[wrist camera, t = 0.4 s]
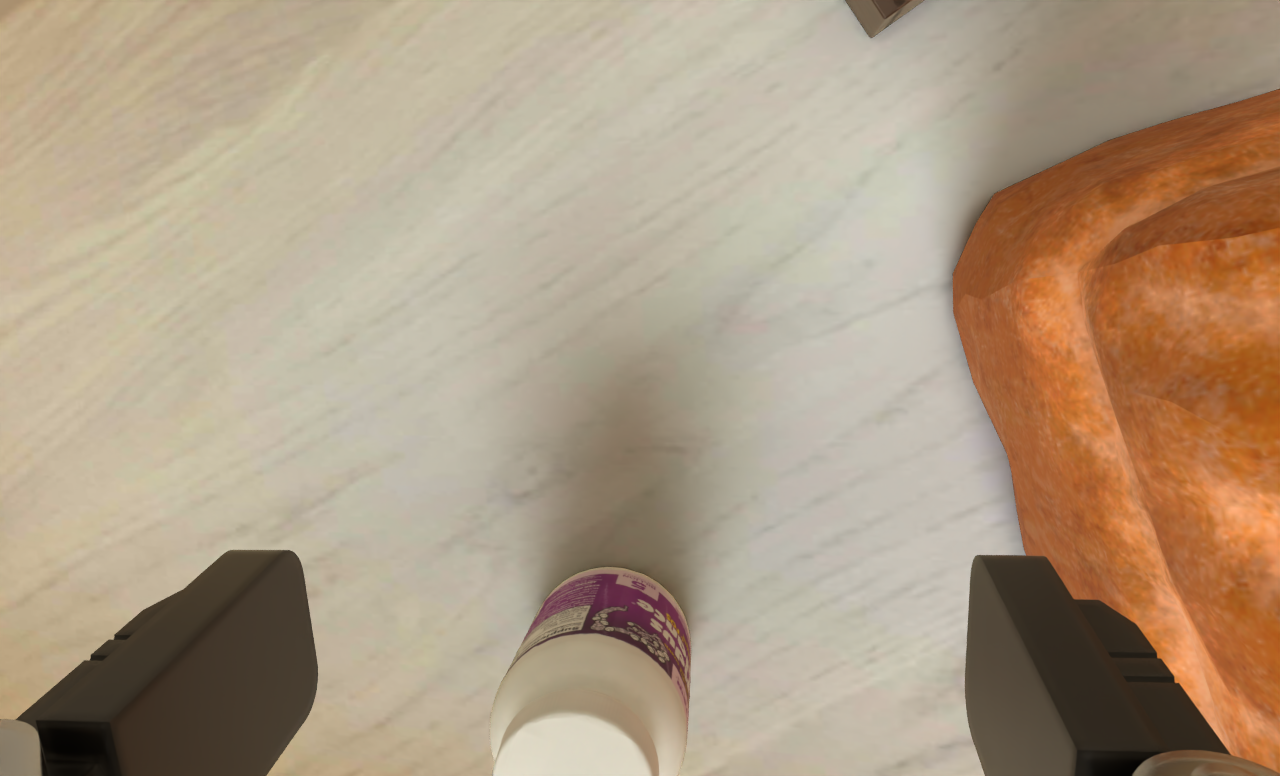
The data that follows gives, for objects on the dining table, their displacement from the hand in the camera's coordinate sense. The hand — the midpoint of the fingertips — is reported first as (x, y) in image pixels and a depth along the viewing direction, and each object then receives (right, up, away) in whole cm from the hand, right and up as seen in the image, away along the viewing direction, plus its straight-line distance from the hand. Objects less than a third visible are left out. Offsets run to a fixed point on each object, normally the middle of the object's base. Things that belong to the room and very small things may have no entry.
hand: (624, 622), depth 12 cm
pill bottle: (-1, -6, +22) cm, 22 cm away
